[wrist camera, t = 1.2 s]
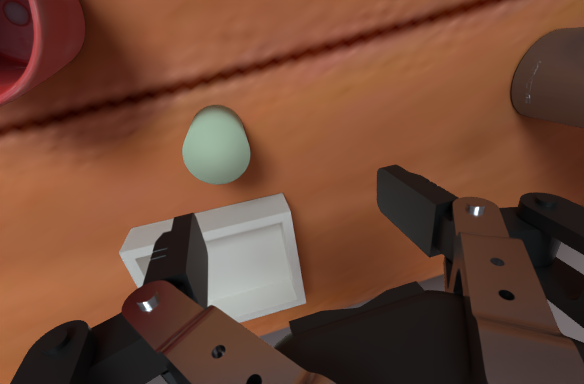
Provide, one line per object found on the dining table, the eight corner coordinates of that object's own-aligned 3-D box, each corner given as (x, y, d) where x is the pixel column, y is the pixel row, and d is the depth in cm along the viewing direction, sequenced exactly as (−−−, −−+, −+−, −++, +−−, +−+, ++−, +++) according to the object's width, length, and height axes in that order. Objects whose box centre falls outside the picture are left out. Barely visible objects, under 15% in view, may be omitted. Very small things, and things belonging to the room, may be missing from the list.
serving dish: (282, 192, 31) (290, 211, 28) (297, 279, 37) (306, 303, 34) (131, 228, 29) (118, 253, 26) (173, 313, 35) (168, 343, 32)
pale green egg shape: (237, 100, 26) (242, 115, 20) (248, 149, 28) (256, 176, 22) (184, 110, 25) (172, 128, 19) (199, 159, 28) (194, 190, 22)
